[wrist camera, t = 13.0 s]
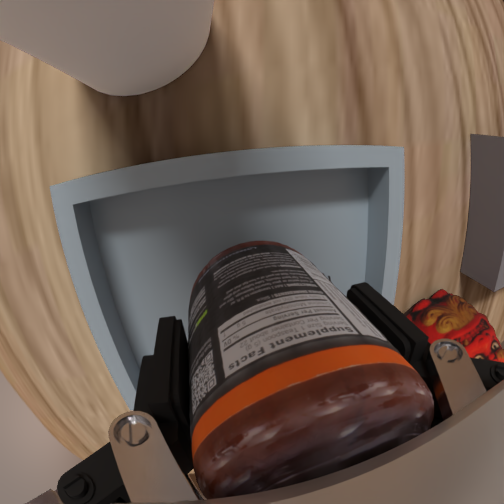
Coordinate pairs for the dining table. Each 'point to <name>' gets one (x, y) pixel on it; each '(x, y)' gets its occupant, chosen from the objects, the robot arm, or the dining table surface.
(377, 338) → the supplement bottle
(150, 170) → the tray
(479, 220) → the dock
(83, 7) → the cylindrical container
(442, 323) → the red clay folk toy
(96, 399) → the dining table surface
